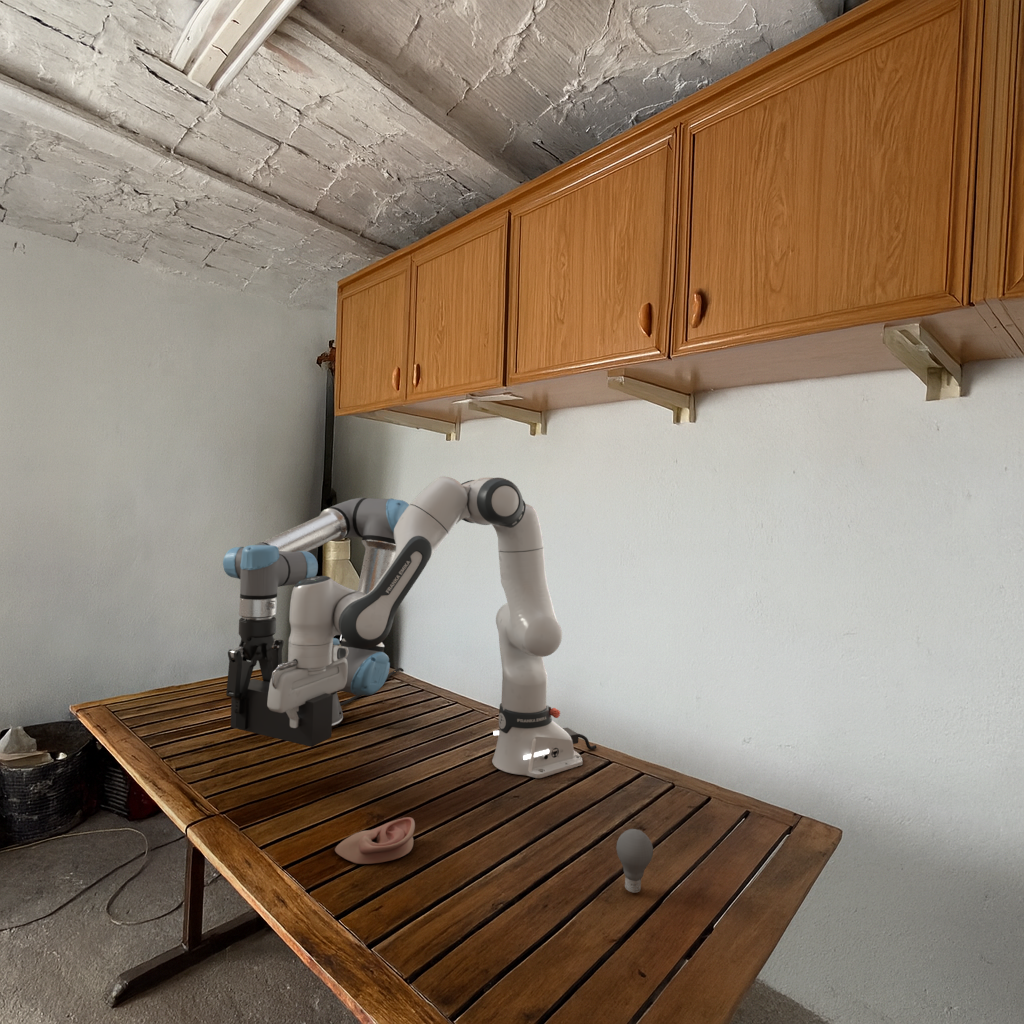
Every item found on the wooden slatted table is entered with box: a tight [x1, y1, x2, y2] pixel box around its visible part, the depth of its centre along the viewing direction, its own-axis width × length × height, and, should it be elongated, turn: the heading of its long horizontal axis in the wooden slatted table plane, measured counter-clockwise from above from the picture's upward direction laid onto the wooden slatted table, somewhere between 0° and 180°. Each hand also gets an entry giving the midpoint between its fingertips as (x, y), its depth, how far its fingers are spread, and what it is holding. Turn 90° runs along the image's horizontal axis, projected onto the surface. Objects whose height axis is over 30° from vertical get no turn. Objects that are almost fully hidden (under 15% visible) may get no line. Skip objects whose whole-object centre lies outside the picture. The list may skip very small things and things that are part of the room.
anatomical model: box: [334, 816, 416, 865], centre depth 115 cm, size 13×4×12 cm
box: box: [230, 678, 333, 748], centre depth 135 cm, size 22×6×9 cm, turn 66°
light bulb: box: [615, 828, 654, 894], centre depth 106 cm, size 6×6×10 cm
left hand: (254, 722), depth 138 cm, fingers closed on box, 6 cm apart
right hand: (308, 721), depth 132 cm, fingers closed on box, 6 cm apart
